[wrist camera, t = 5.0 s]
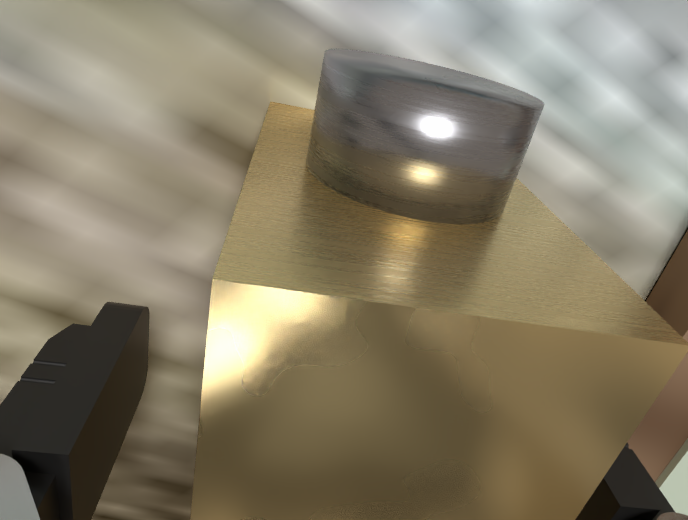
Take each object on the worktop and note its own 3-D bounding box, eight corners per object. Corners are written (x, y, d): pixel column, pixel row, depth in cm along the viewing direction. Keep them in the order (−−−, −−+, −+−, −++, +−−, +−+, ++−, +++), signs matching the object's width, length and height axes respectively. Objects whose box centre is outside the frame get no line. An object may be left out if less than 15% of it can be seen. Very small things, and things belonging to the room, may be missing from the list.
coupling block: (281, 21, 10) (229, 94, 3) (502, 69, 10) (787, 202, 4) (224, 452, 15) (166, 771, 9) (369, 465, 16) (407, 771, 10)
